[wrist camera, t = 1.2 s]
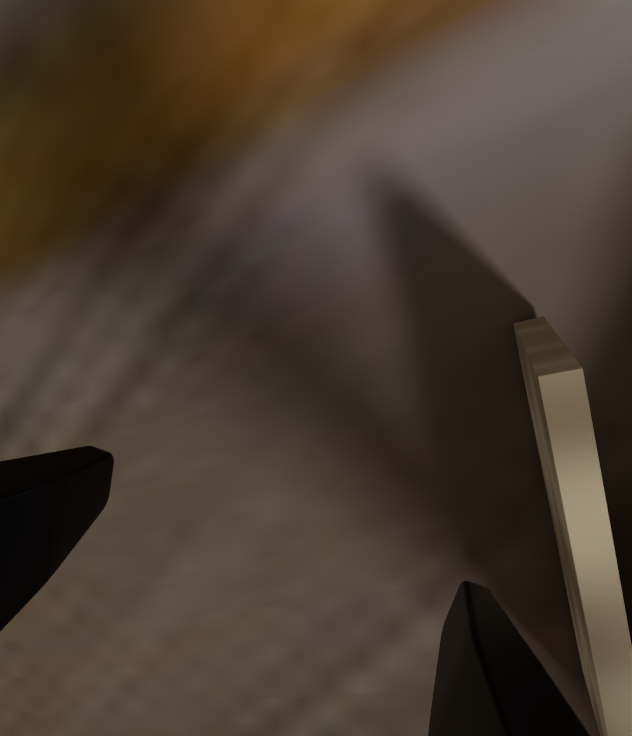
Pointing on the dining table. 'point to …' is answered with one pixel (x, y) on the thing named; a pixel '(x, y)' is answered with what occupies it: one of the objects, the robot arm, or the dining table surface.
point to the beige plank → (579, 520)
